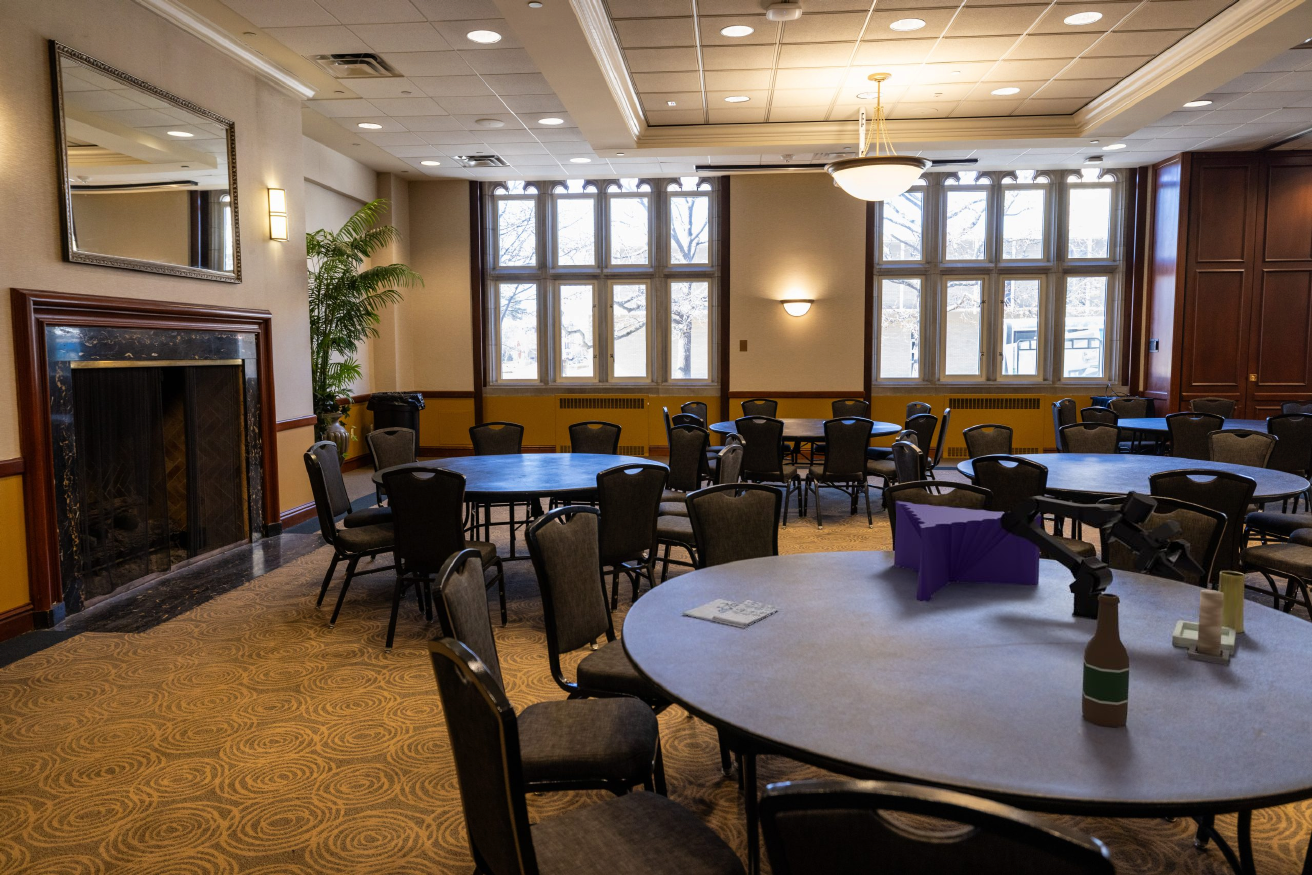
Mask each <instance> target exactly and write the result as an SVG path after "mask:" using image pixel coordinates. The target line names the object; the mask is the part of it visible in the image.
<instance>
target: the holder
mask: <svg viewBox="0 0 1312 875" xmlns="http://www.w3.org/2000/svg"><path fill="white" fill-rule="evenodd" d="M1197 648H1198V645H1194V644H1190V647H1189V648H1188V650H1187V659H1190V660H1194V661H1195V660H1196V661H1202V662H1209V663H1213V664H1220V665H1225V666H1228V665H1229V661H1230V654H1229V652H1230V650H1226V649H1221V652H1220V657H1218V656H1212V655H1206V654H1200V653H1197Z"/></svg>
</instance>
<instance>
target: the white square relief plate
mask: <svg viewBox="0 0 1312 875" xmlns="http://www.w3.org/2000/svg"><path fill="white" fill-rule="evenodd" d="M780 608H781V607H779V606H777V605H776V606H775V605H770V604H766V603H763V602H757V601H754V600H749V599H746V600H745V601H743V603H739V602H735V601H729V600H725V599H722V598H716V599H715V600H712V601H711V602H707V603H706V604H705V603H704V604H702V605H700V606H697V607H695V608H693V609H690V610H687V611H686V610H685V611H683V612H682V615H683V614H684V615H688V616H691V617H690V618H694V617H696V618H695V619H699V618H701V619H700V620H703V619H705V621H708V620H710V621H709V622H712V621H715V622H714V623H717V622H720V623H719V624H721V623H724V624H723V625H726V624H728V625H727V626H730V625H733V626H732V627H734V626H738V627H737V628H739V627H743V628H742V629H746V628H747V627H746V626H748V625H750V626H752V625H754V624H755V623H754V622H756V623H758V622H760V621H762V620H764V619H765V618H764V617H766V618H768V617H767V615H769V614H772V613H773V612H776V611H779V610H780ZM723 609H724V610H729V609H730V610H729V611H727V612H724V613H721V612H722V611H721V610H723ZM776 613H777V612H776ZM772 615H773V614H772ZM688 616H687V617H688ZM763 618H764V619H763ZM761 619H762V620H761ZM759 620H760V621H759ZM757 621H758V622H757ZM753 623H754V624H753ZM751 624H752V625H751ZM745 627H746V628H745ZM748 627H749V626H748Z"/></svg>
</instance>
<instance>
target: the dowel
mask: <svg viewBox="0 0 1312 875" xmlns="http://www.w3.org/2000/svg"><path fill="white" fill-rule="evenodd" d="M1223 595H1224V593H1222V592H1220V591H1218V590H1214V589H1213V590H1212V589H1201V590H1200V592H1199V610H1198V611H1199V612H1198V613H1199V614H1198V623H1199V628H1198V648H1197V651H1196V653H1200V654H1206V655H1212V656H1218V657H1221V655H1220V652H1221V633H1222V614H1223Z"/></svg>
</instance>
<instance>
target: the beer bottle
mask: <svg viewBox="0 0 1312 875" xmlns="http://www.w3.org/2000/svg"><path fill="white" fill-rule="evenodd" d="M1098 600H1099V609H1098V618H1097V619H1096V620H1097V621H1096V627H1095V628H1096V629H1095V632H1094V635H1093V636H1092V637H1091V638H1090V639H1089V641H1087V644H1086V646H1085V647H1084V648H1085V649H1084V654H1083V665H1082V666H1083V667H1082V670H1083V671H1082V693H1081V694H1082V696H1081V713H1082V716H1083V718H1084V720H1085V721H1087V722H1089V723H1091V724H1094V725H1096V726H1098V727H1107V728H1119V727H1122V726H1126V724H1127V723H1128V722H1127V719H1128V709H1129V708H1128V706H1129V687H1130V686H1129V685H1130V656H1129V654H1128V651H1127V649H1126V646H1125V645H1124V644H1123V642H1122V640H1121V636H1120V629H1119V628H1120V625H1119V624H1120V623H1119V619H1120V618H1119V604H1120V603H1121V601H1120V600H1121V599H1120V597H1119V596H1118V595H1116V594H1113V593H1106V592H1103V593H1102V594H1099V596H1098Z"/></svg>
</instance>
